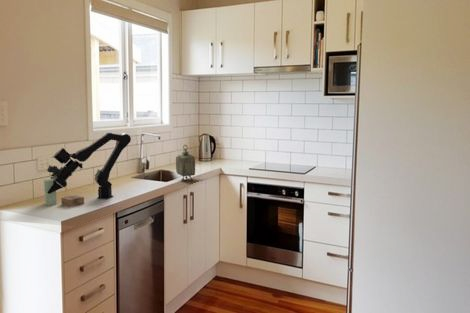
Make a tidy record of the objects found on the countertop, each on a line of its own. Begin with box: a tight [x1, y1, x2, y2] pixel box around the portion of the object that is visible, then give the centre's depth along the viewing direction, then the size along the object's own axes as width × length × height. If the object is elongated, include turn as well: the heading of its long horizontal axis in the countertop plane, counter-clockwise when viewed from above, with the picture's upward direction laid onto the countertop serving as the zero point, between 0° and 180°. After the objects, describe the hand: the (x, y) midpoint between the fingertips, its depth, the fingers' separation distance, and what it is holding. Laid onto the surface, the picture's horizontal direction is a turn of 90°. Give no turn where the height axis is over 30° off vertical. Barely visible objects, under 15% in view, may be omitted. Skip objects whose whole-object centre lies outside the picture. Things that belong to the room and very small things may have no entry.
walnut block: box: [61, 194, 85, 208], centre depth 209 cm, size 8×8×4 cm
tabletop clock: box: [175, 144, 196, 182], centre depth 274 cm, size 14×9×25 cm, turn 28°
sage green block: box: [43, 178, 57, 206], centre depth 209 cm, size 5×5×13 cm
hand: (47, 191), depth 209 cm, fingers open, 8 cm apart
